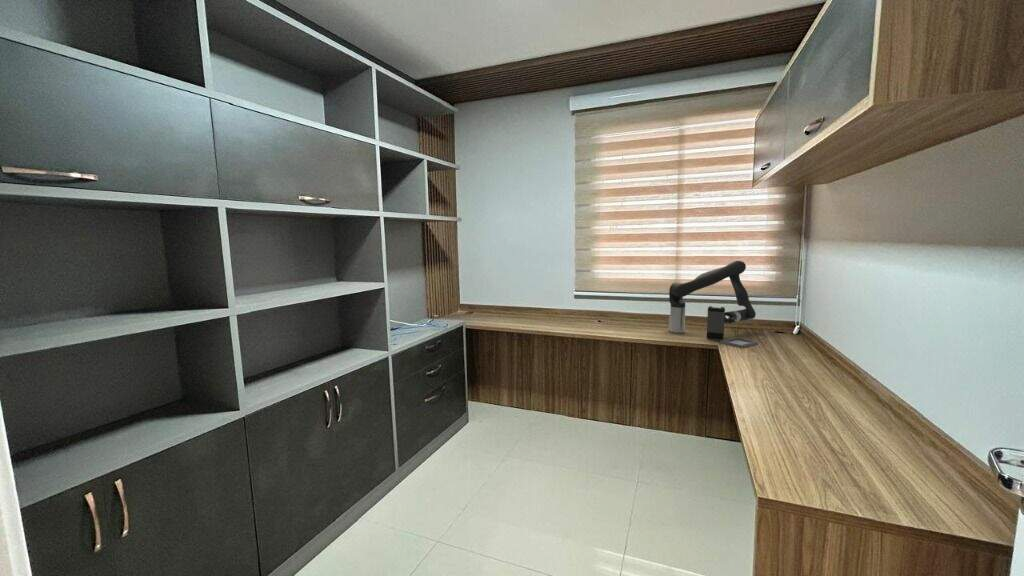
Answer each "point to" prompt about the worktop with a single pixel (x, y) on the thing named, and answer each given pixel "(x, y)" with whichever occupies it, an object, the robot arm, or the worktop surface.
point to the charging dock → (739, 342)
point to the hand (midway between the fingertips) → (716, 320)
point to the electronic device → (715, 323)
